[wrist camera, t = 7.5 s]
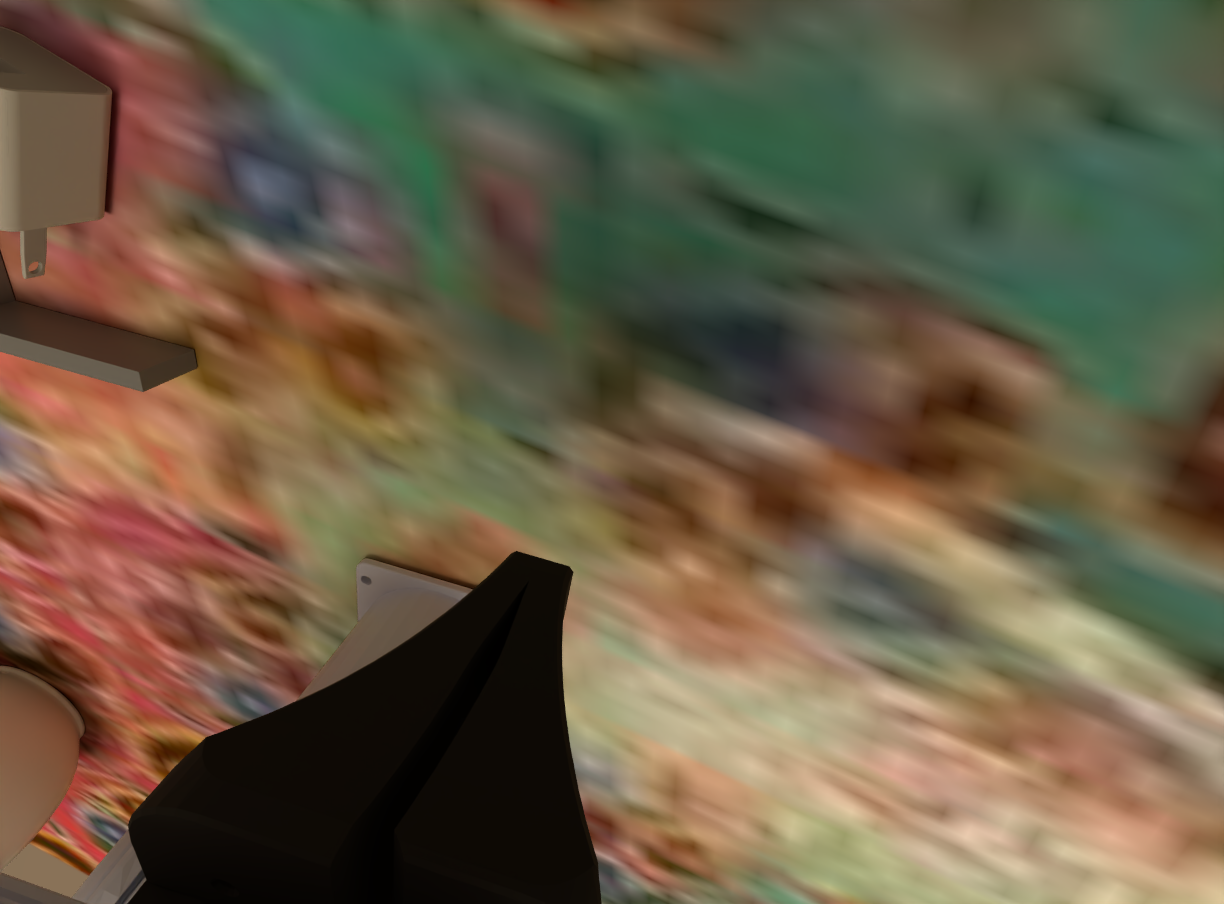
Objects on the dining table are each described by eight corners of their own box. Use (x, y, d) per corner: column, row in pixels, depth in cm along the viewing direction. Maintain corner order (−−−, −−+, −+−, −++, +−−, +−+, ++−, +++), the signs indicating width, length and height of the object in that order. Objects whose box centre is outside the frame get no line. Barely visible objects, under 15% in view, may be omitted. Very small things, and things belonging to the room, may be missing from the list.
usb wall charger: (124, 96, 20) (-9, 90, 16) (111, 279, 23) (-1, 306, 20) (9, 25, 19) (-150, 5, 16) (13, 222, 23) (-118, 239, 19)
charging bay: (197, 368, 24) (143, 391, 22) (4, 314, 25) (-67, 332, 23) (122, -63, 17) (34, -89, 15) (-141, -119, 18) (-260, -152, 16)
